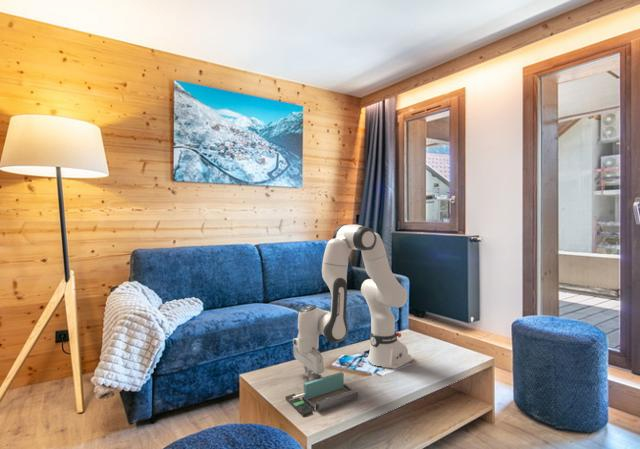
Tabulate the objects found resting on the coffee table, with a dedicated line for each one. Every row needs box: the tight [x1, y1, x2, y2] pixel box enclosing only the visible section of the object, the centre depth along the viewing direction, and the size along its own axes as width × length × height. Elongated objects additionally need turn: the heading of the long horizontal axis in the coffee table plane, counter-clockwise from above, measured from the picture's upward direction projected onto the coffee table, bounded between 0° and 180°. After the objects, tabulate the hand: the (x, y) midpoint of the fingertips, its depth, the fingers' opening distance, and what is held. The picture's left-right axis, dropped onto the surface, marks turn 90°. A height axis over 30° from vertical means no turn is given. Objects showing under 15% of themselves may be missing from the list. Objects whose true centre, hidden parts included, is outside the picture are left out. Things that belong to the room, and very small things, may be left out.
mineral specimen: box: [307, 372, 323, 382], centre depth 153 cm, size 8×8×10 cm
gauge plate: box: [293, 371, 345, 400], centre depth 146 cm, size 23×2×6 cm, turn 122°
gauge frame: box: [285, 383, 359, 417], centre depth 143 cm, size 25×15×3 cm, turn 122°
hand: (308, 375), depth 158 cm, fingers closed
